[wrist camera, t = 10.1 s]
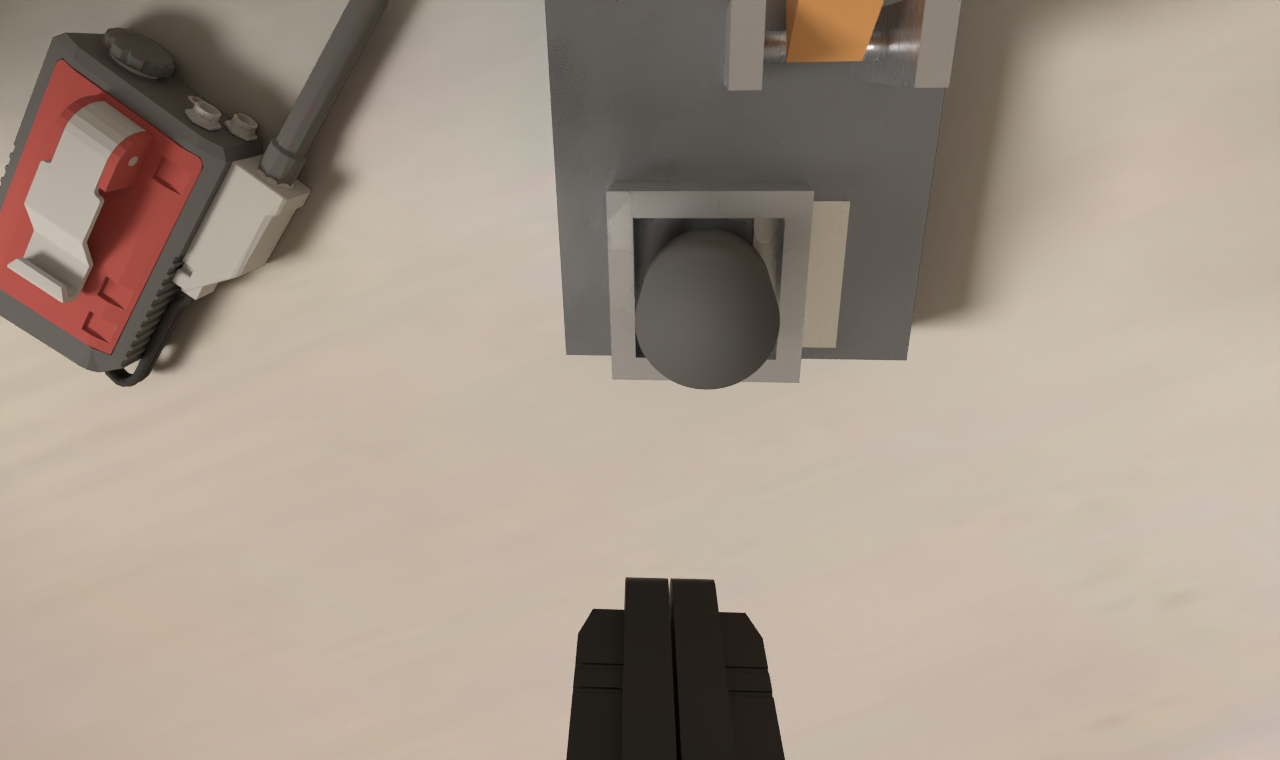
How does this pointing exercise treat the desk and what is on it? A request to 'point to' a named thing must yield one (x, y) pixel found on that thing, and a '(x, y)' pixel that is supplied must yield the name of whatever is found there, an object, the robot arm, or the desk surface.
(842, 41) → the breaker lever
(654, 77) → the breaker plate
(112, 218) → the walkie-talkie
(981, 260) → the desk surface
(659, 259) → the button
